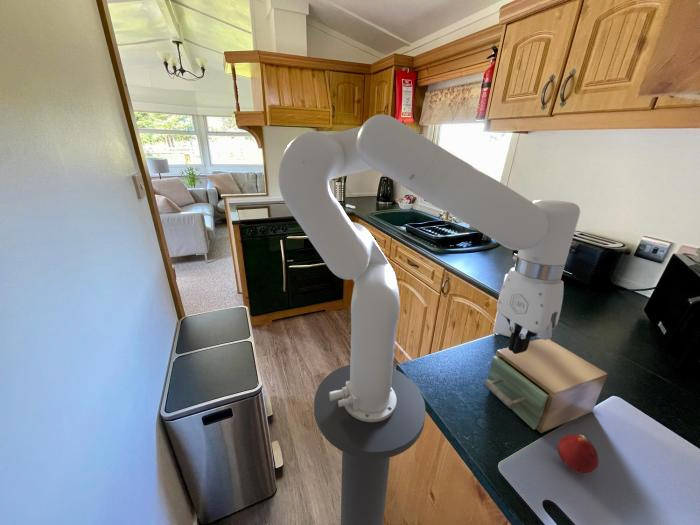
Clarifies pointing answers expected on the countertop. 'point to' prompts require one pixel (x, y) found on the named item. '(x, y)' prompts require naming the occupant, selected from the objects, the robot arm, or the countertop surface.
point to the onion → (578, 453)
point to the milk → (501, 324)
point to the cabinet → (558, 380)
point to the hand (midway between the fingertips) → (516, 350)
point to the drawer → (517, 391)
